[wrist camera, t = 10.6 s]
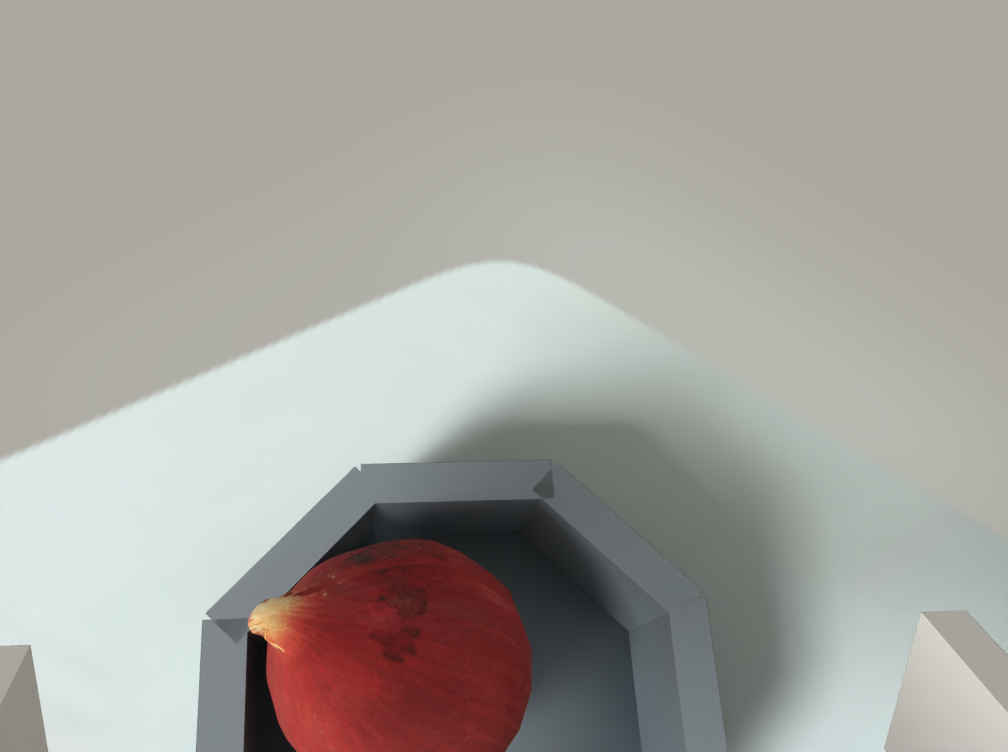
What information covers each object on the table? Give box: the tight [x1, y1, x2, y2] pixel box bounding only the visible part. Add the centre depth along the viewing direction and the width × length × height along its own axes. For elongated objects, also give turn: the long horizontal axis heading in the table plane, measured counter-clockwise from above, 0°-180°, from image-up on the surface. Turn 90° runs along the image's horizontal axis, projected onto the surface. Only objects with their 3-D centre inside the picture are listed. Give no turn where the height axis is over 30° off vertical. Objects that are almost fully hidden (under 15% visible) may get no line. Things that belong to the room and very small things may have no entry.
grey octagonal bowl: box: [196, 460, 728, 752], centre depth 24 cm, size 12×12×4 cm
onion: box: [247, 539, 532, 752], centre depth 22 cm, size 6×6×8 cm
